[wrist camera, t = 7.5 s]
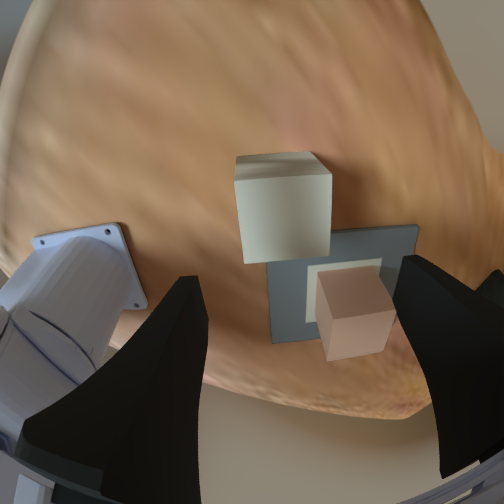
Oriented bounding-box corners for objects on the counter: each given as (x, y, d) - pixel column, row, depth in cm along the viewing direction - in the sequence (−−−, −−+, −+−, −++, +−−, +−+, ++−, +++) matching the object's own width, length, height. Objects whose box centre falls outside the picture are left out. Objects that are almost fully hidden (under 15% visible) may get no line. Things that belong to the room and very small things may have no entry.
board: (271, 340, 26) (272, 344, 25) (264, 236, 20) (264, 240, 19) (390, 323, 25) (392, 326, 25) (416, 224, 19) (419, 227, 19)
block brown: (314, 314, 23) (326, 361, 19) (316, 271, 21) (333, 319, 17) (364, 307, 23) (383, 351, 19) (372, 265, 21) (397, 308, 16)
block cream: (244, 221, 19) (244, 263, 15) (236, 156, 17) (234, 181, 13) (310, 215, 19) (329, 255, 15) (309, 151, 17) (332, 174, 12)
